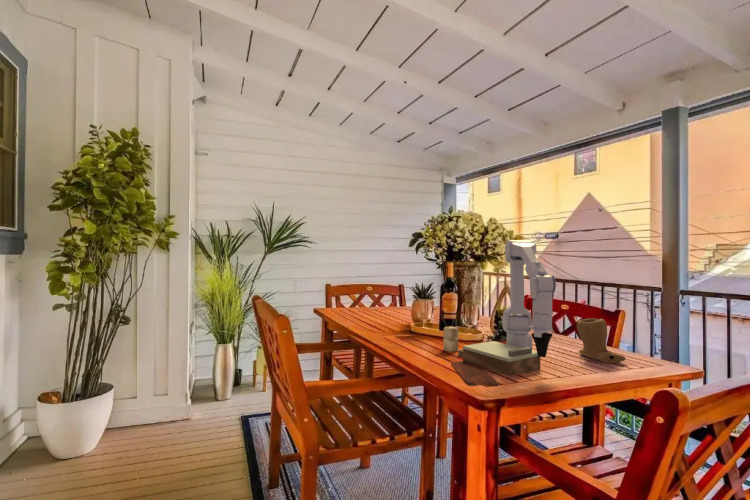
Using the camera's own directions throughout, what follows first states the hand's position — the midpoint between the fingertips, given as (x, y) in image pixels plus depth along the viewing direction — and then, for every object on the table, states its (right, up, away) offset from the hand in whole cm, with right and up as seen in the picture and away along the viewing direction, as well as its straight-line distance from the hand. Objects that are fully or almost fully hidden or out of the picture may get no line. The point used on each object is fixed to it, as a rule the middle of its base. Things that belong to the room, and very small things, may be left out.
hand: (541, 356), depth 128 cm
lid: (-9, -2, +13) cm, 16 cm away
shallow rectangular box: (-11, -7, +16) cm, 21 cm away
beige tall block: (-22, -7, +34) cm, 41 cm away
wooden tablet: (-21, -7, +5) cm, 23 cm away
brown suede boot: (+30, -7, +23) cm, 39 cm away
